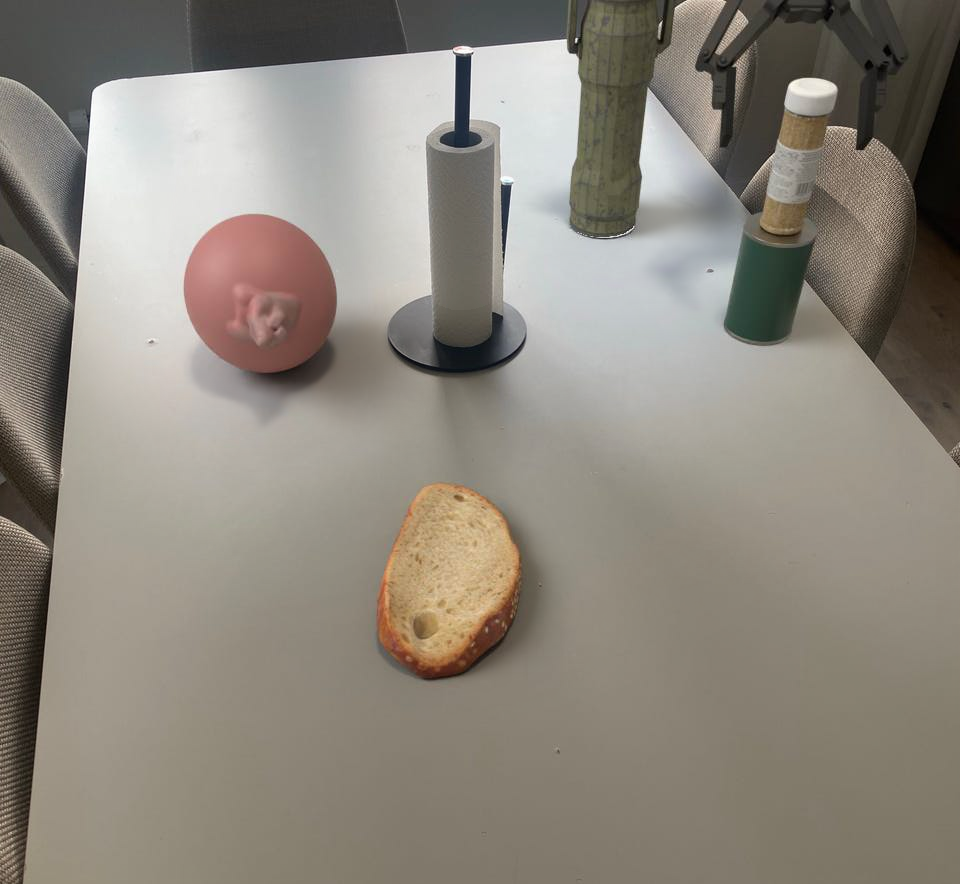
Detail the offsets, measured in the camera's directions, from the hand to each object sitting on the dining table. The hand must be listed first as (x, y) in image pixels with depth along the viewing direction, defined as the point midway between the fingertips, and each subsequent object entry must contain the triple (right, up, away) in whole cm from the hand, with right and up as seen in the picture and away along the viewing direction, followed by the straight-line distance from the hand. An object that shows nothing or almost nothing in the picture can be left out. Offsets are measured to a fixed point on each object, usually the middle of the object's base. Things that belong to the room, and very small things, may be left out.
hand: (794, 143), depth 94 cm
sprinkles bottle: (0, -7, +4) cm, 8 cm away
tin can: (0, -14, +13) cm, 19 cm away
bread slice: (-35, -45, -13) cm, 58 cm away
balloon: (-54, -21, +8) cm, 58 cm away
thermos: (-15, +5, +30) cm, 34 cm away
